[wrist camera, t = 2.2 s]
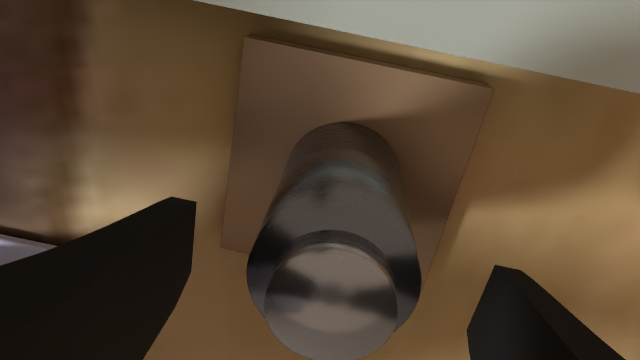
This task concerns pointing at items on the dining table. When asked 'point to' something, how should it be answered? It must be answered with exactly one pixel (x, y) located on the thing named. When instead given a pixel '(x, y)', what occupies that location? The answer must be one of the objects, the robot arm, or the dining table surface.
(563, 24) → the port box
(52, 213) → the dining table surface
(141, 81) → the dining table surface
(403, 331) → the dining table surface
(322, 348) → the plug
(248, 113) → the brown square tile
